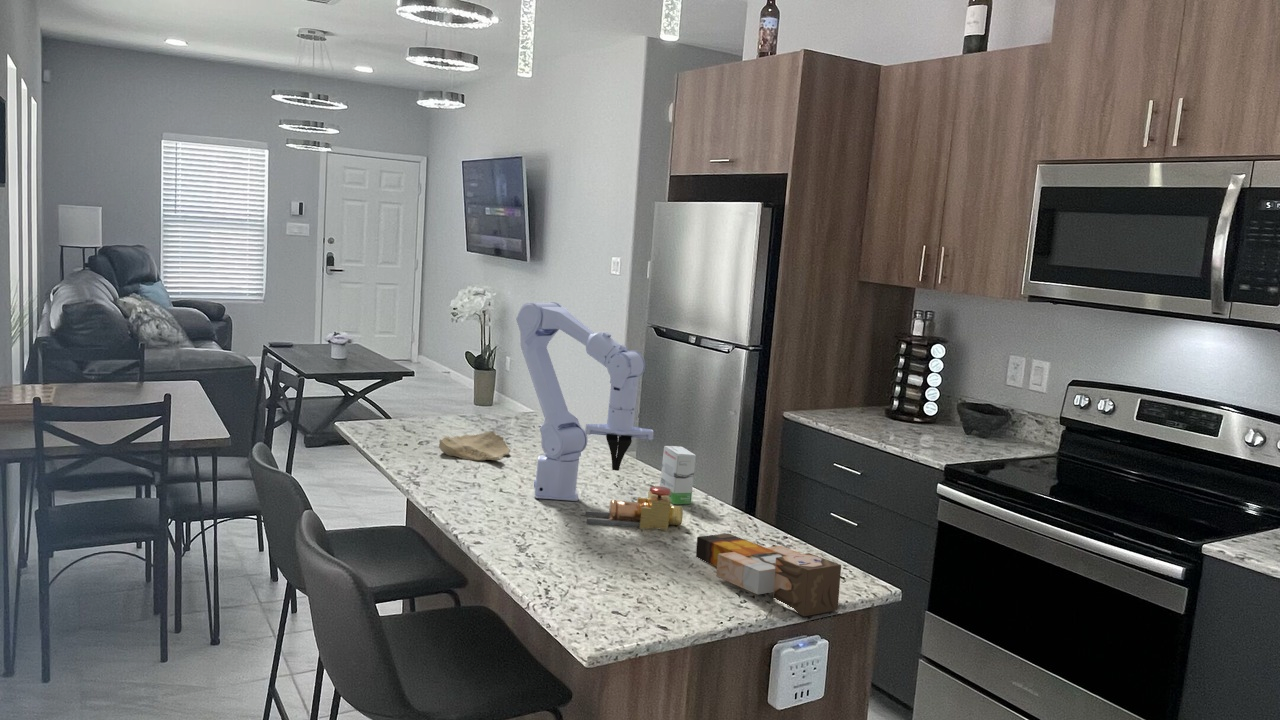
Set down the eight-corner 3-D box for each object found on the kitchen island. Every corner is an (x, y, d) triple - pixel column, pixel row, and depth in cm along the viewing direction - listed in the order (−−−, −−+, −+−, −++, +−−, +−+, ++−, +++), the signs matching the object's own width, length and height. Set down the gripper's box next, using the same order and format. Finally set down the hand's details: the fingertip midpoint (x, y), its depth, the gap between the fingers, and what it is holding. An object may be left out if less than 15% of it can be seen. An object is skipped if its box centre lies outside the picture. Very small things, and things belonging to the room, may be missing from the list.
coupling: (610, 522, 193) (612, 501, 193) (608, 519, 198) (610, 498, 198) (648, 525, 194) (650, 503, 194) (645, 521, 199) (647, 501, 199)
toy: (743, 522, 185) (856, 562, 161) (740, 560, 186) (852, 607, 161) (681, 528, 177) (791, 572, 152) (679, 569, 177) (787, 619, 153)
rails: (586, 523, 192) (586, 518, 192) (584, 515, 198) (585, 510, 197) (639, 527, 194) (639, 522, 193) (636, 518, 199) (636, 514, 199)
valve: (639, 528, 193) (643, 493, 192) (635, 517, 200) (639, 482, 199) (682, 531, 194) (686, 496, 193) (676, 520, 201) (680, 485, 200)
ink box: (691, 504, 214) (697, 454, 213) (672, 504, 212) (678, 454, 211) (676, 493, 222) (682, 445, 221) (657, 493, 220) (663, 445, 219)
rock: (522, 454, 244) (524, 438, 244) (498, 471, 230) (500, 454, 229) (461, 441, 249) (463, 425, 248) (434, 456, 234) (435, 439, 233)
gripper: (588, 408, 194) (582, 471, 196) (657, 414, 196) (650, 476, 198) (587, 401, 201) (581, 462, 203) (654, 407, 203) (647, 468, 205)
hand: (615, 469), depth 201 cm, fingers closed
